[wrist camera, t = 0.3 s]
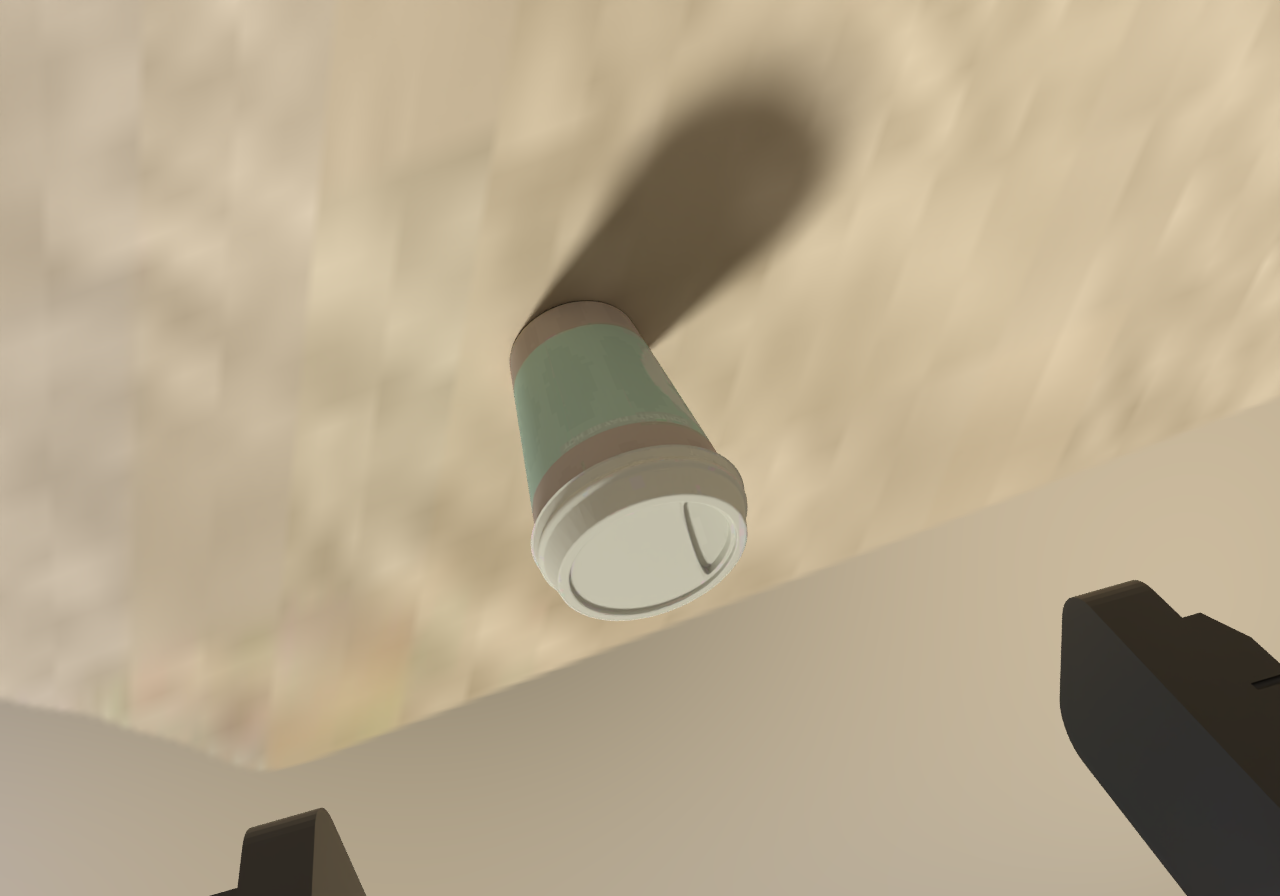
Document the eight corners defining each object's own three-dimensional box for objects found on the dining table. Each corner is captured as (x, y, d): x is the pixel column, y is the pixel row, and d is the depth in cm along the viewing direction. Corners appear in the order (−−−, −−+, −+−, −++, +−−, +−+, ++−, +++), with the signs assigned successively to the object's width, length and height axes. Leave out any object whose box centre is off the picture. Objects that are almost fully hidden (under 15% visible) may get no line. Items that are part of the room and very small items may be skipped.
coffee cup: (631, 423, 54) (713, 625, 46) (458, 417, 50) (517, 635, 43) (692, 282, 49) (797, 484, 41) (505, 264, 45) (581, 482, 37)
